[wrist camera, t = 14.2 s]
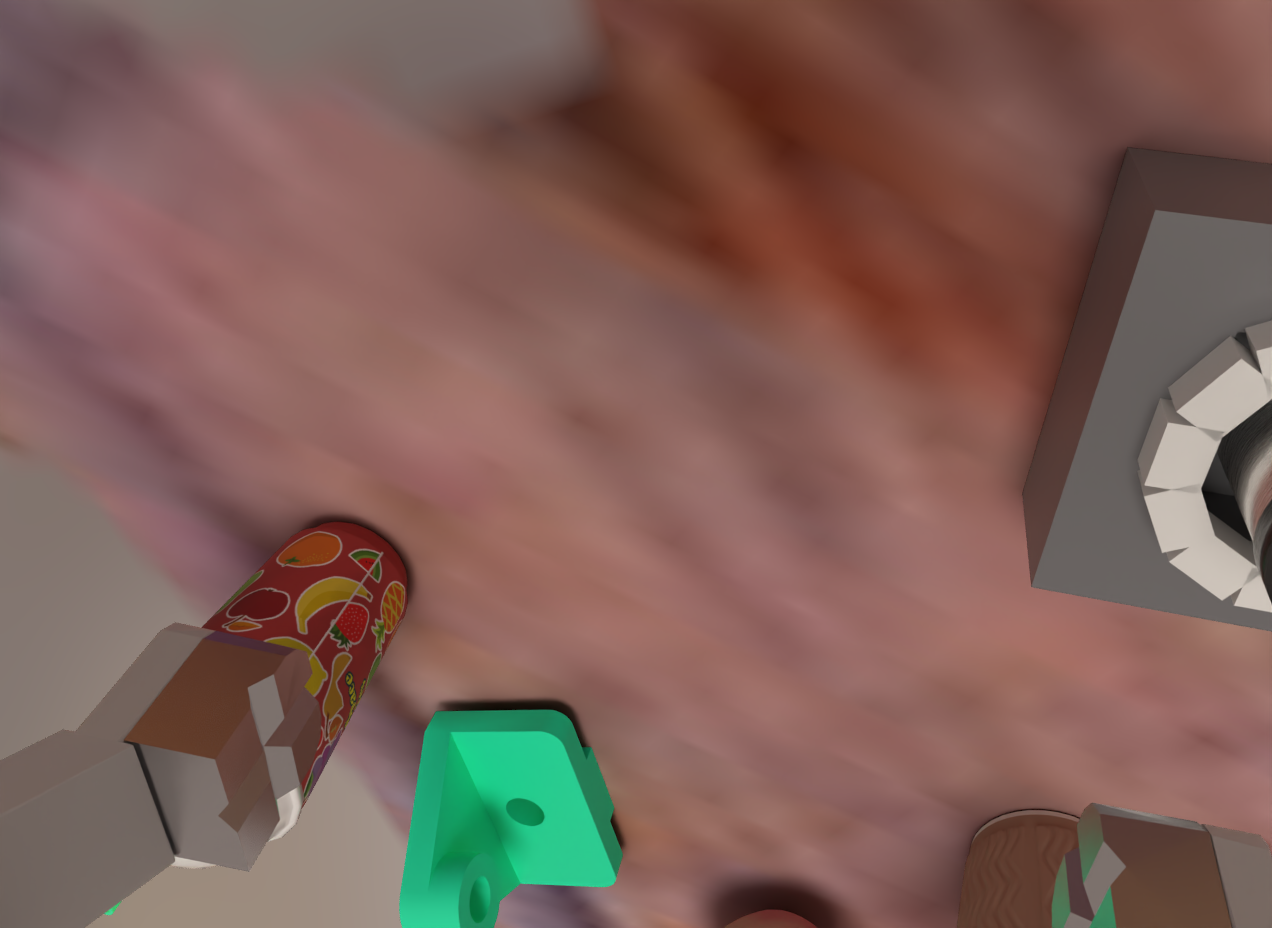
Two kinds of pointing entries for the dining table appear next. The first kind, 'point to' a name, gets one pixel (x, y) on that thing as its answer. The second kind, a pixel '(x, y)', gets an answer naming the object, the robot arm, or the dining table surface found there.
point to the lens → (1253, 482)
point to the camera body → (1160, 397)
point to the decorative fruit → (771, 920)
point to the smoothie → (321, 628)
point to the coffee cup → (1015, 870)
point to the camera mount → (502, 816)
